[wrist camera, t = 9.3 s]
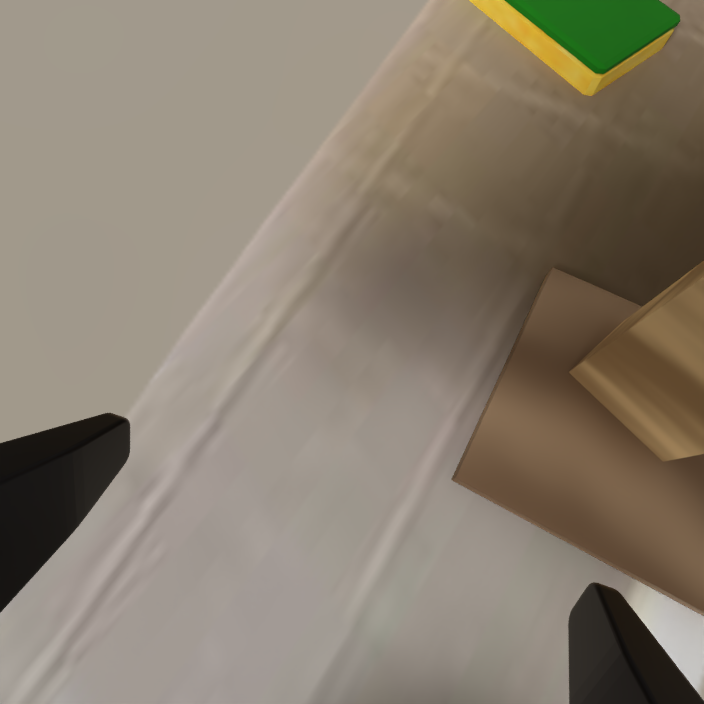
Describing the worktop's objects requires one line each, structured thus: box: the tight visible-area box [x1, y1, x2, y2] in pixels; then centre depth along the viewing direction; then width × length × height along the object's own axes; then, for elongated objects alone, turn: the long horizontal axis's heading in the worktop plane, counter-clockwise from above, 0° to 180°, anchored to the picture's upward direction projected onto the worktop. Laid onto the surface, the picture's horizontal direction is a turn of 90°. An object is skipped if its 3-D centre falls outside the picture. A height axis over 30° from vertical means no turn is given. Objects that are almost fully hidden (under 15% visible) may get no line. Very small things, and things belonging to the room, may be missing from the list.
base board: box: [452, 267, 704, 616], centre depth 22 cm, size 12×12×1 cm
